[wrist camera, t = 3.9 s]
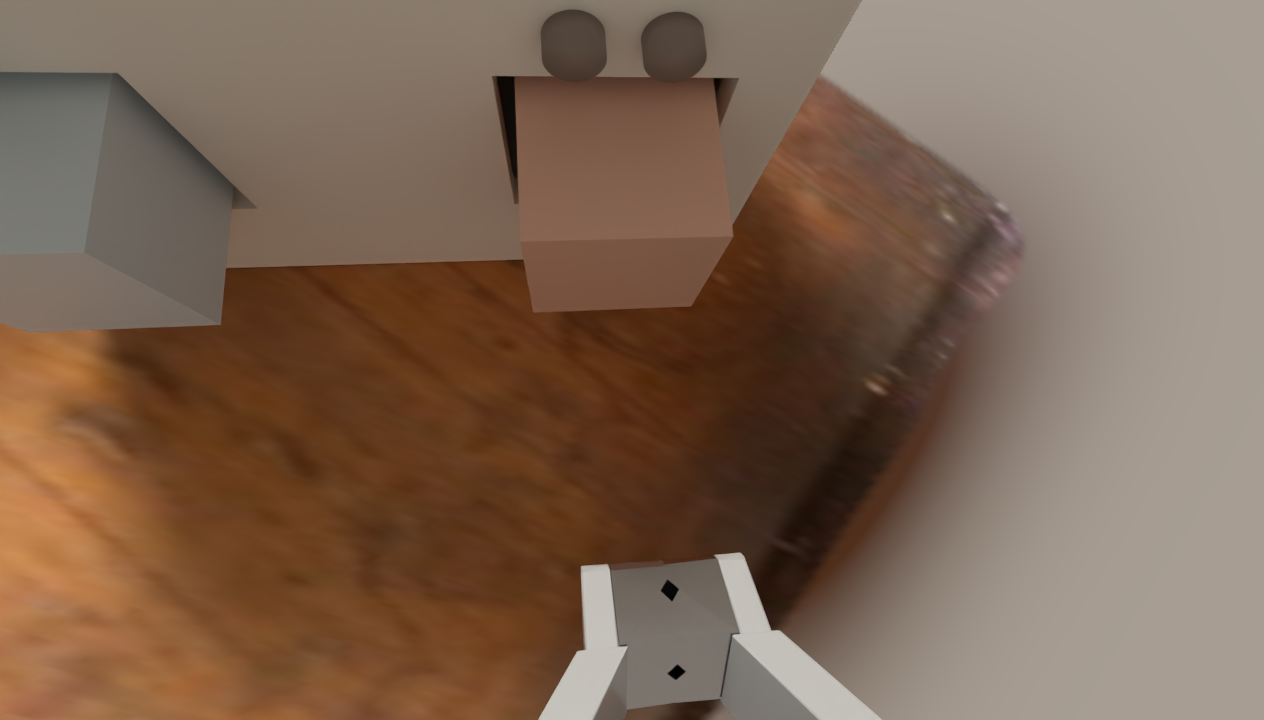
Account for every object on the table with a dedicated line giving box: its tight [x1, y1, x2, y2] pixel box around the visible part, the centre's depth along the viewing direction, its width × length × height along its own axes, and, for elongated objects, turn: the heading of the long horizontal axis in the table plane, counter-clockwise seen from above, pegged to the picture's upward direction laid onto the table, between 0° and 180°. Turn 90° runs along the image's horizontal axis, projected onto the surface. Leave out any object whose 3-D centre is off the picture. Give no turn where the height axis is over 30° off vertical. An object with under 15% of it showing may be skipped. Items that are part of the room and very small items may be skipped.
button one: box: [0, 72, 234, 332], centre depth 15 cm, size 5×8×5 cm, turn 4°
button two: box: [515, 76, 733, 313], centre depth 17 cm, size 5×8×5 cm, turn 4°
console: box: [0, 0, 862, 268], centre depth 17 cm, size 24×10×15 cm, turn 94°
